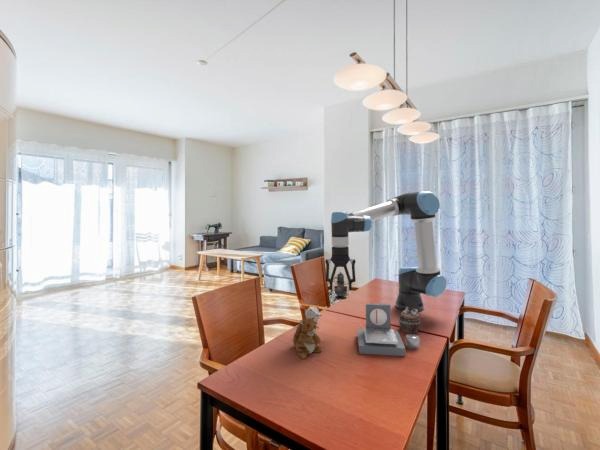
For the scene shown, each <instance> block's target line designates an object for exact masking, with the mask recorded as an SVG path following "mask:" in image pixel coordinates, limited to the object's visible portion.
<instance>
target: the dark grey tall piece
mask: <svg viewBox="0 0 600 450" xmlns="http://www.w3.org/2000/svg"><path fill="white" fill-rule="evenodd" d="M336 276H337V280H336V283H337V284H336V286H337V287H336V288H334V295H336V296H334V298H335V300H339V301H340V300H341V301H342V300H348V298H347V296H346V295H347V288H345V282H346V281H345V279H344V278H345V275H344V274H343V273H342V272H341V271H339V273H338V274H337V275H336Z"/></svg>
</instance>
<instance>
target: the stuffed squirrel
mask: <svg viewBox="0 0 600 450" xmlns="http://www.w3.org/2000/svg"><path fill="white" fill-rule="evenodd" d="M313 320H314V318H313V317H312V318H307V319H306V318H304V319H299V323H298V325H297V327H296V330H295V332H294V334H293V339H292V342H293V346H294V347H295V350H296V353H297V355H298V357H300V358H301V359H302V360H304V359H306V358H307V357H308V355H309V354H312V353H322V352H323V348H322V347H321V346H318V345H319V344H321V338H320V336H319V335H318V334H316V333H315V332H316V330H319V329H320V327H319V326H318V325H317V324H316V323H315V322H314V321H313Z"/></svg>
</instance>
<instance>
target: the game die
mask: <svg viewBox="0 0 600 450" xmlns="http://www.w3.org/2000/svg"><path fill="white" fill-rule="evenodd" d="M307 307H308V308H307V309H306V311H305V312H303V313H302V314H303V315H304V316H305V319H307V318H312V317H313V318H314V320H313V321H314V323H315V325H318V323H317V322H318V321H319V319H320V317H322V316H323V315H322V314H321V313H320V311H319V306H317V307H316V306H315V307H314V306H310V305H308V306H307Z"/></svg>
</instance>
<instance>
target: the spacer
mask: <svg viewBox="0 0 600 450" xmlns="http://www.w3.org/2000/svg"><path fill="white" fill-rule="evenodd" d="M405 348H407V349H410V350H411V349H412V350H417V349H420V336H419V335H417V334H415V333H409V334H406V335H405Z"/></svg>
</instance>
